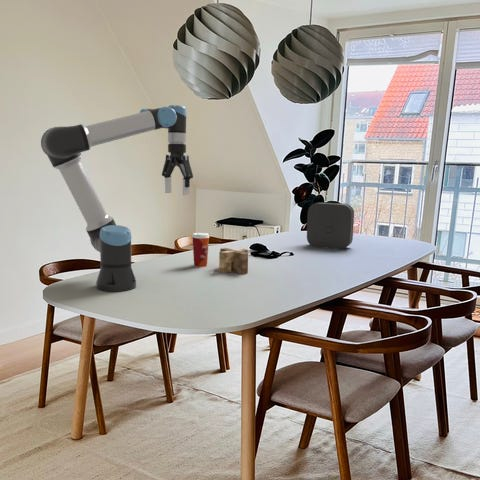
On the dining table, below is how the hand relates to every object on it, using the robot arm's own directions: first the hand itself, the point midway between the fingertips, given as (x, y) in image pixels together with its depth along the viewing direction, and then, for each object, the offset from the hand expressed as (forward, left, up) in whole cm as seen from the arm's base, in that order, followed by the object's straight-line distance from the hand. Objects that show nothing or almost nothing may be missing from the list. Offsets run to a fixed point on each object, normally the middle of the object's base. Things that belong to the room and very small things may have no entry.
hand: (176, 194), depth 229 cm
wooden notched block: (+24, -10, -35) cm, 43 cm away
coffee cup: (+18, +7, -35) cm, 40 cm away
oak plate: (+24, -10, -35) cm, 43 cm away
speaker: (+107, +5, -35) cm, 113 cm away
